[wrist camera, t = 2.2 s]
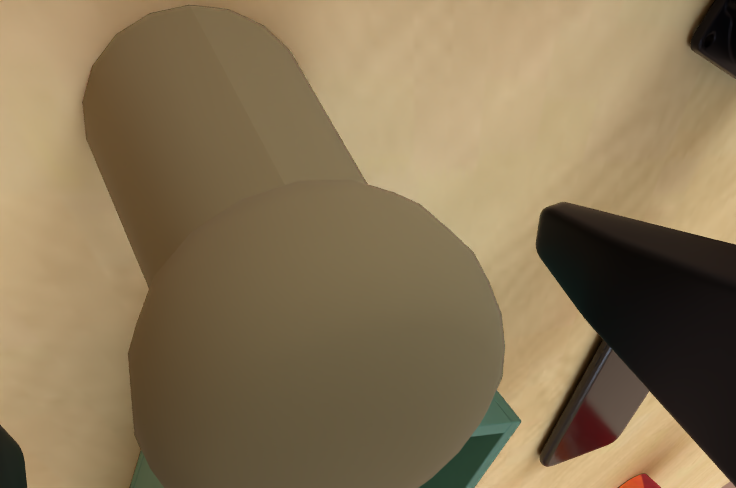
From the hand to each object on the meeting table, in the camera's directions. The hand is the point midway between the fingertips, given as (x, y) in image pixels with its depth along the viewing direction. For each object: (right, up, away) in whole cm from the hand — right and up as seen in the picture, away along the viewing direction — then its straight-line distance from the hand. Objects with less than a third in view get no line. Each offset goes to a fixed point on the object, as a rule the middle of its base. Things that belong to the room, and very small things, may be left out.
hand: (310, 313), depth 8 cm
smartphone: (+17, -7, +27) cm, 33 cm away
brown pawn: (-4, +5, +6) cm, 9 cm away
